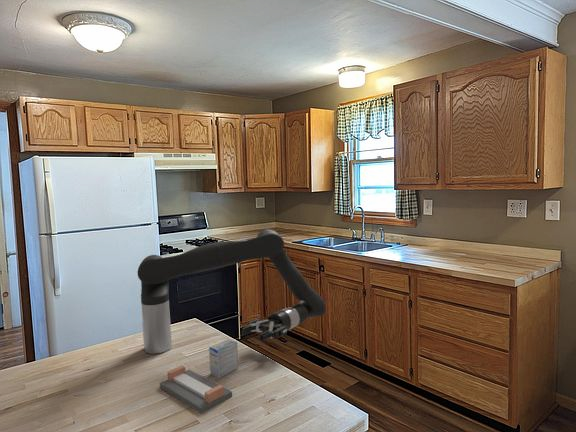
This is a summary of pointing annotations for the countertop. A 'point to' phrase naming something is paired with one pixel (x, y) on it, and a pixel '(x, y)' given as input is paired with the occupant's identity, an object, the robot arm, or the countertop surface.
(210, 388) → the rail panel
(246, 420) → the countertop surface
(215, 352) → the medicine box
